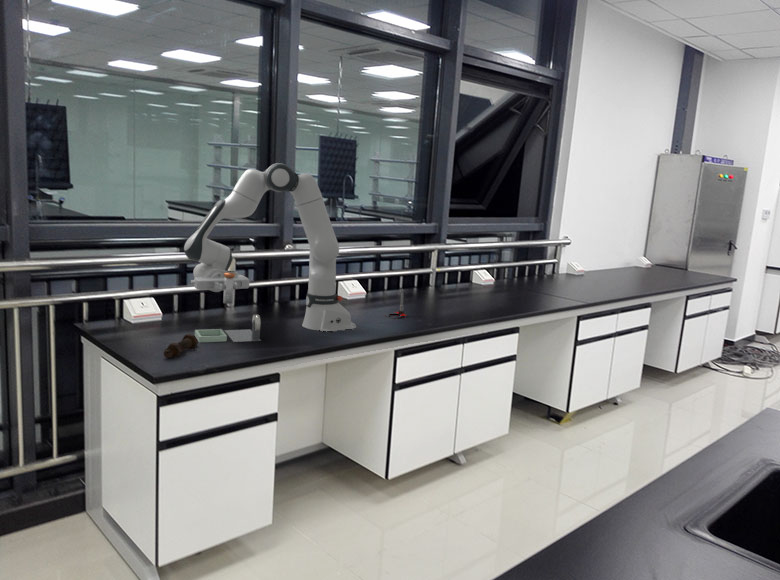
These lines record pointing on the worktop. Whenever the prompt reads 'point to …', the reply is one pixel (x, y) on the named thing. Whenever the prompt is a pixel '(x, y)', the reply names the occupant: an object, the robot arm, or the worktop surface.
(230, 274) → the lock pin
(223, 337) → the tray
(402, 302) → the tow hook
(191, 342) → the dark brown lumpy piece
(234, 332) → the base
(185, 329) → the worktop surface
